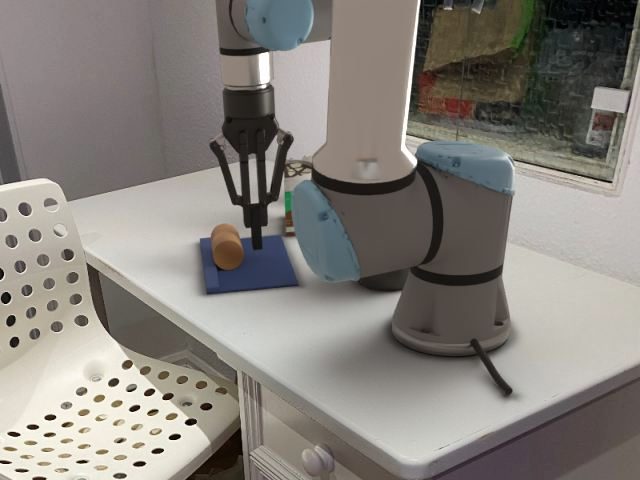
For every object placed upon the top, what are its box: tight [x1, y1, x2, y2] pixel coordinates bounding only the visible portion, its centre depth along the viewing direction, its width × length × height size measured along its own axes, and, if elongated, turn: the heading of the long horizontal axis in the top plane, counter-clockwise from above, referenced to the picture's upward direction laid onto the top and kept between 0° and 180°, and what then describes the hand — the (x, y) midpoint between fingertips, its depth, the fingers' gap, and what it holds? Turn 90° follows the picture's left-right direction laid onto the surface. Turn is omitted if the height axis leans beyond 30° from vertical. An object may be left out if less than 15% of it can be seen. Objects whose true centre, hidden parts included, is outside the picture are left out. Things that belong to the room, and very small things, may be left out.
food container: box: [283, 158, 312, 237], centre depth 141 cm, size 12×6×10 cm, turn 179°
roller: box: [210, 223, 244, 270], centre depth 131 cm, size 8×5×5 cm, turn 6°
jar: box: [358, 268, 409, 292], centre depth 121 cm, size 10×10×8 cm
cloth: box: [199, 234, 300, 295], centre depth 132 cm, size 22×14×1 cm, turn 6°
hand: (257, 246), depth 132 cm, fingers closed
